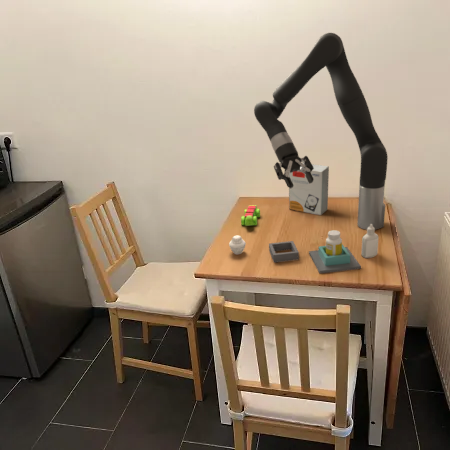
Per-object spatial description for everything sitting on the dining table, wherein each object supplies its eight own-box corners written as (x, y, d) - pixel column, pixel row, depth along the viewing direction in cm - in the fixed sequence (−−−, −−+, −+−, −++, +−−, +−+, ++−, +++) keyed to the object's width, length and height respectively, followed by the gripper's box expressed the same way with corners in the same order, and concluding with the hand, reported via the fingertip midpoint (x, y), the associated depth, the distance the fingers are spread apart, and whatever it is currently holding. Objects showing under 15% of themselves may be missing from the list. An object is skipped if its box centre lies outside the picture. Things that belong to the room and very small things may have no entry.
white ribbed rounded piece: (245, 256, 163) (243, 239, 160) (228, 256, 164) (227, 239, 161) (247, 248, 169) (246, 231, 166) (231, 248, 170) (229, 231, 167)
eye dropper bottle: (378, 258, 154) (381, 227, 149) (362, 258, 155) (363, 227, 150) (376, 252, 158) (378, 221, 153) (360, 252, 159) (361, 222, 154)
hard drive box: (288, 209, 198) (287, 166, 190) (296, 203, 204) (295, 161, 196) (321, 215, 190) (321, 171, 182) (328, 209, 196) (329, 165, 187)
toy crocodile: (247, 211, 201) (246, 199, 198) (261, 211, 199) (261, 198, 197) (239, 230, 184) (238, 217, 181) (255, 231, 182) (254, 217, 179)
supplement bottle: (341, 254, 157) (342, 229, 153) (341, 262, 152) (342, 236, 148) (326, 254, 158) (326, 229, 154) (325, 261, 153) (325, 236, 149)
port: (346, 249, 162) (347, 239, 160) (360, 268, 149) (361, 258, 147) (308, 253, 161) (308, 243, 160) (319, 273, 148) (319, 263, 147)
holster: (293, 248, 166) (292, 240, 165) (298, 259, 158) (298, 252, 157) (269, 250, 166) (268, 243, 164) (273, 262, 157) (273, 255, 156)
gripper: (270, 145, 160) (289, 184, 156) (303, 138, 166) (322, 175, 161) (264, 156, 167) (281, 194, 162) (295, 149, 172) (313, 185, 168)
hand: (301, 184), depth 162 cm, fingers open, 8 cm apart
